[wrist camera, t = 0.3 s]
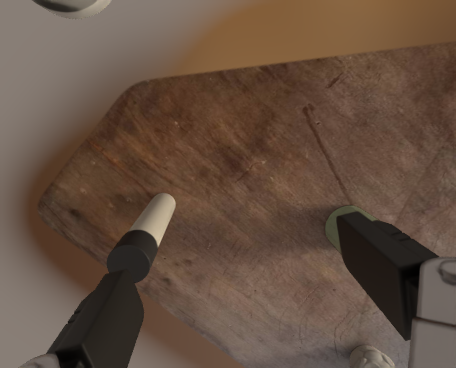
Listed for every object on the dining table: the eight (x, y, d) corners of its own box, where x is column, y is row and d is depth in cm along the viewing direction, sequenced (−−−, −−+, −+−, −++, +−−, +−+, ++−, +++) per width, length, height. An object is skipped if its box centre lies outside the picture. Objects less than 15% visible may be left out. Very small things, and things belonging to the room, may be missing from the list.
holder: (320, 212, 37) (351, 240, 29) (365, 199, 37) (409, 224, 29) (329, 253, 38) (361, 290, 30) (372, 240, 38) (416, 275, 30)
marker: (153, 189, 35) (109, 241, 21) (178, 195, 36) (153, 249, 21) (148, 213, 36) (103, 279, 21) (173, 218, 36) (145, 287, 22)
